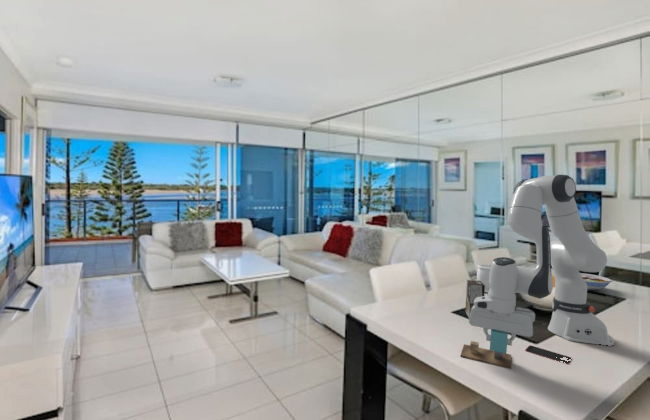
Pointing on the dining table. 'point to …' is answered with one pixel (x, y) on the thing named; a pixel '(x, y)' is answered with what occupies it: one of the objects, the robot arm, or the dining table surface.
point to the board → (484, 355)
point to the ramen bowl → (595, 281)
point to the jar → (484, 275)
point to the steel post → (498, 355)
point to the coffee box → (473, 293)
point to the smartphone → (547, 354)
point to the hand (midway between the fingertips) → (498, 342)
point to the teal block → (498, 341)
